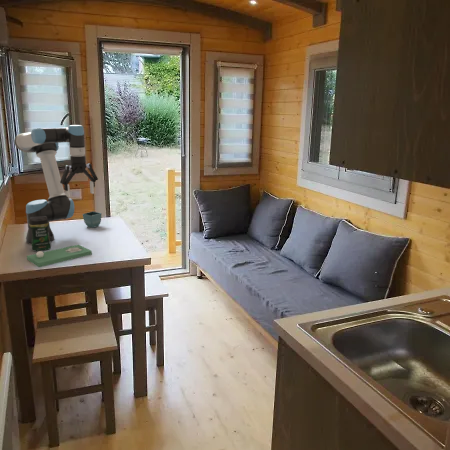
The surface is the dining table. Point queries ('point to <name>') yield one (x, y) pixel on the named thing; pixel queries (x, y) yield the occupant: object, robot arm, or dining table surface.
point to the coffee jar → (40, 233)
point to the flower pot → (92, 219)
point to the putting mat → (59, 255)
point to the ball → (39, 254)
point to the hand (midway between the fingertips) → (80, 195)
